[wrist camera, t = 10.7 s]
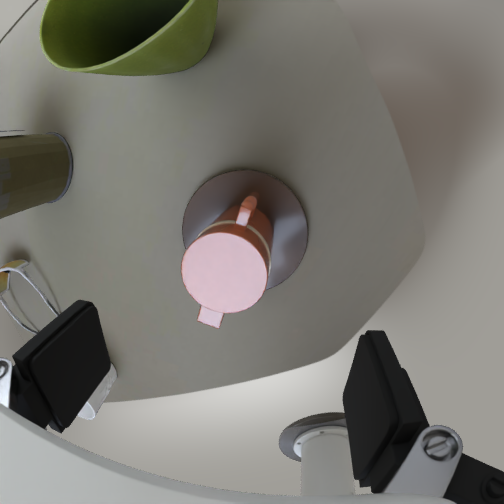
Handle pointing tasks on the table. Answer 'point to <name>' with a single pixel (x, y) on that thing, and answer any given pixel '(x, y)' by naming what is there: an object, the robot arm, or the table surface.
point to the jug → (229, 262)
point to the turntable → (270, 203)
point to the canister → (33, 171)
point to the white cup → (98, 396)
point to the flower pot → (127, 35)
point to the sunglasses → (2, 285)
